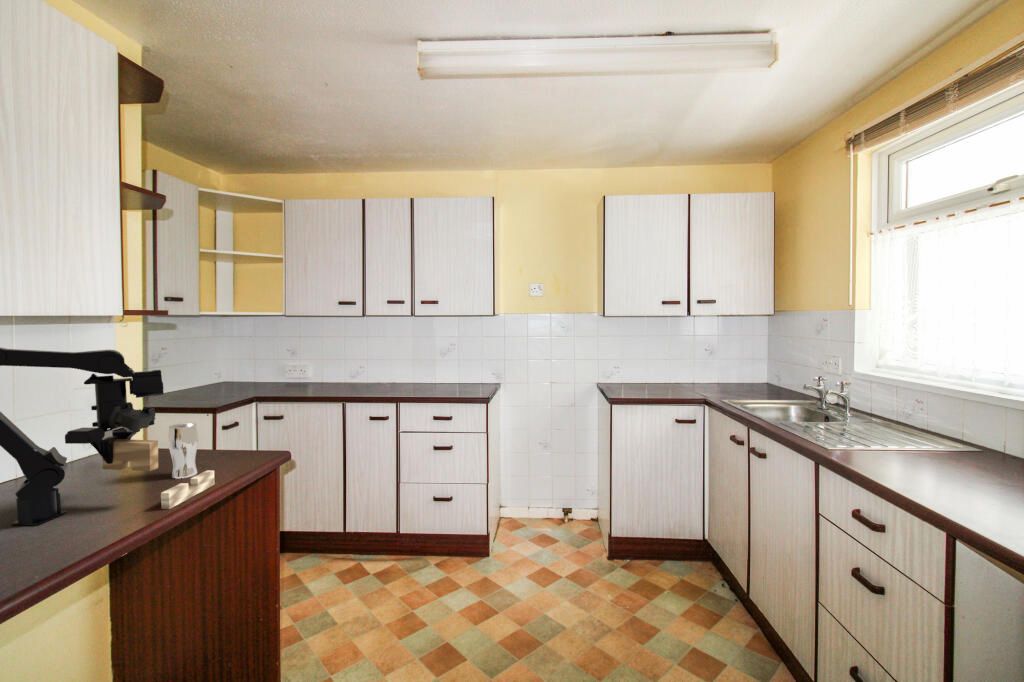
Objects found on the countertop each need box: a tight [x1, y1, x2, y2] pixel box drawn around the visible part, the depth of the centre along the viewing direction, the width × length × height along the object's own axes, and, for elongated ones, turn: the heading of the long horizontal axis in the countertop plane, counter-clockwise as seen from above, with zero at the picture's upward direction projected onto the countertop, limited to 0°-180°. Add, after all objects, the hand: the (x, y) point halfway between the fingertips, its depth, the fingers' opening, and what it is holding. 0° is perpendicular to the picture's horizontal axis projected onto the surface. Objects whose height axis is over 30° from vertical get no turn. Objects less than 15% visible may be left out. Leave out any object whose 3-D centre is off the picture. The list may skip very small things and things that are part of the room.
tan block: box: [102, 439, 159, 472], centre depth 111 cm, size 2×12×7 cm, turn 89°
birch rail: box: [160, 469, 216, 510], centre depth 117 cm, size 16×2×4 cm, turn 179°
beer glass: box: [167, 422, 199, 480], centre depth 132 cm, size 7×7×15 cm
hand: (115, 461), depth 111 cm, fingers closed on tan block, 2 cm apart
